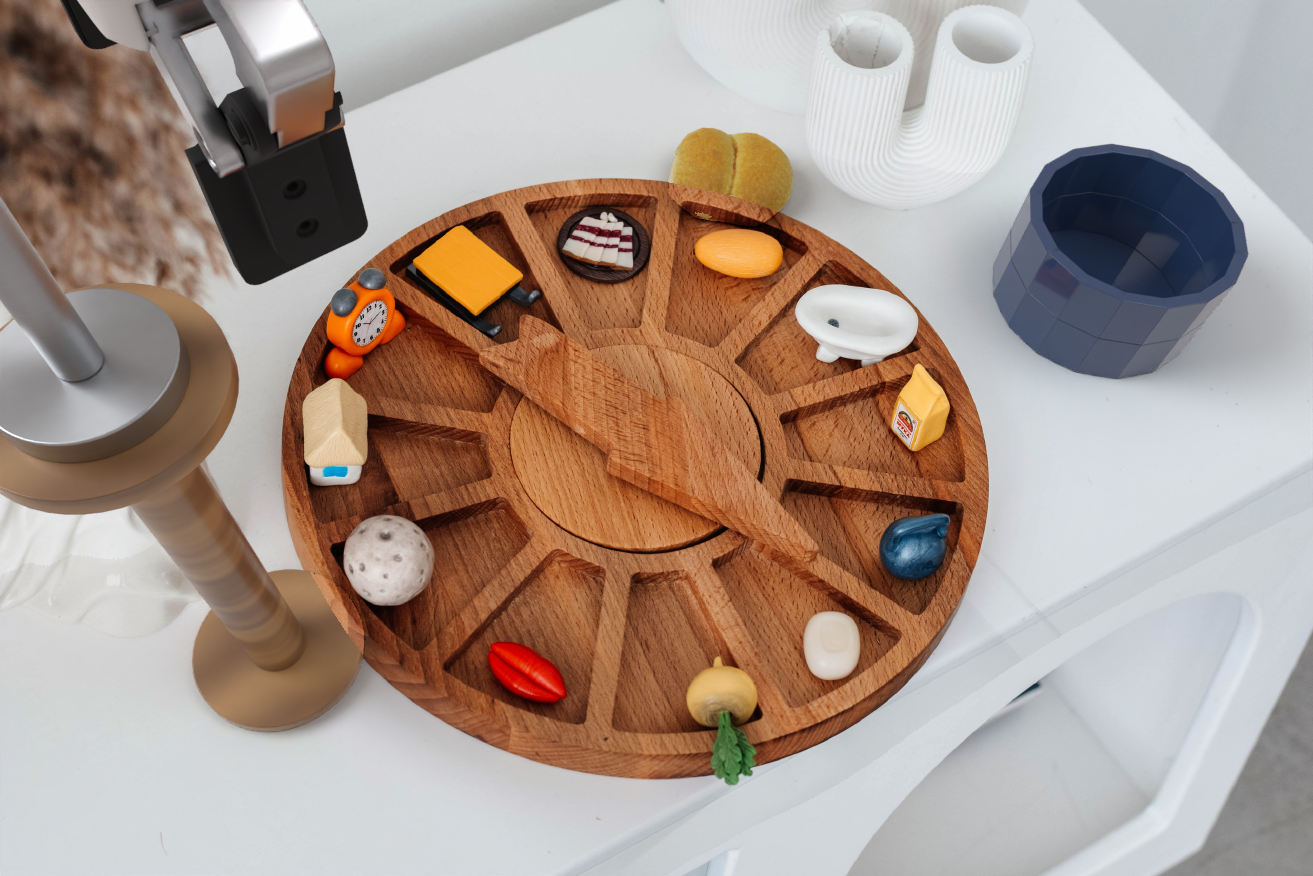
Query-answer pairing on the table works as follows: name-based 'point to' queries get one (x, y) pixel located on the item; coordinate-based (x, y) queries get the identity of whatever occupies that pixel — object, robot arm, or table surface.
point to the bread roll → (734, 167)
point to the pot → (1117, 260)
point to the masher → (80, 361)
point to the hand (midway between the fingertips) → (218, 132)
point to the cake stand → (207, 543)
